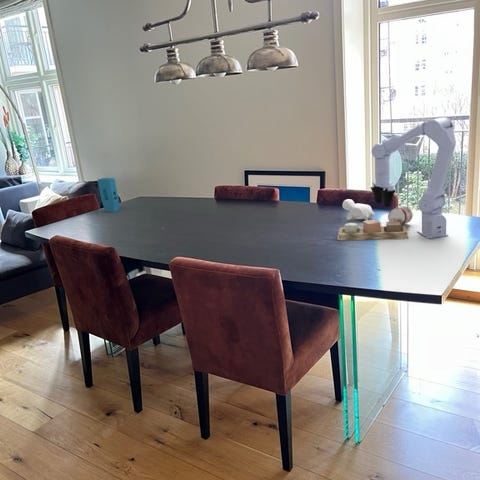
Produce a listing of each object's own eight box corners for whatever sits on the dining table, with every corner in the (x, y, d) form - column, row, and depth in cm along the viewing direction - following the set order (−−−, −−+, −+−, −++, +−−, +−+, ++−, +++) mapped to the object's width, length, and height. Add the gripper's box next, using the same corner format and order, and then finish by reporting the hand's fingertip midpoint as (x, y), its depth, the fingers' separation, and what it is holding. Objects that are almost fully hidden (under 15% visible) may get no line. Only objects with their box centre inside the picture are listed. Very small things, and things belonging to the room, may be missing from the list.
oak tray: (406, 230, 191) (406, 225, 190) (408, 238, 182) (408, 232, 181) (338, 232, 198) (338, 227, 197) (337, 240, 189) (337, 234, 188)
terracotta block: (374, 231, 193) (374, 219, 191) (380, 234, 188) (380, 222, 186) (363, 233, 192) (363, 221, 190) (369, 236, 187) (369, 224, 185)
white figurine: (372, 223, 216) (346, 209, 224) (378, 207, 211) (351, 193, 220) (362, 228, 210) (335, 213, 219) (367, 212, 206) (340, 197, 214)
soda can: (398, 225, 202) (390, 227, 192) (393, 209, 202) (385, 210, 193) (415, 220, 198) (408, 223, 188) (410, 204, 198) (402, 205, 188)
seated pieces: (399, 230, 189) (399, 221, 188) (400, 234, 185) (400, 224, 183) (345, 232, 195) (344, 223, 194) (344, 236, 190) (344, 226, 189)
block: (103, 211, 294) (96, 179, 289) (109, 209, 298) (103, 178, 292) (114, 212, 287) (108, 180, 281) (121, 210, 291) (115, 178, 285)
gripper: (400, 173, 187) (400, 206, 191) (383, 169, 201) (383, 200, 205) (383, 176, 186) (384, 209, 190) (367, 171, 200) (368, 202, 204)
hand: (382, 204), depth 197 cm, fingers open, 7 cm apart
